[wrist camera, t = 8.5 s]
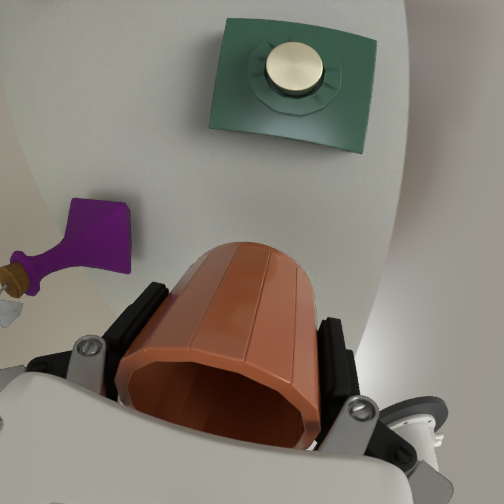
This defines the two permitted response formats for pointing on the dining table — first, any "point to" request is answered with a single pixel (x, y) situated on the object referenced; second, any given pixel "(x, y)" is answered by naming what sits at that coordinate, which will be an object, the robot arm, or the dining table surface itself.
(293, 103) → the push button base
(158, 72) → the dining table surface
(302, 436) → the cup
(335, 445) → the robot arm
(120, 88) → the dining table surface
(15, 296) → the perfume bottle
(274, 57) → the metal button cap
